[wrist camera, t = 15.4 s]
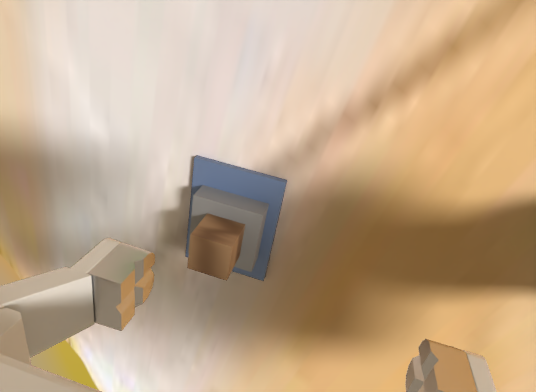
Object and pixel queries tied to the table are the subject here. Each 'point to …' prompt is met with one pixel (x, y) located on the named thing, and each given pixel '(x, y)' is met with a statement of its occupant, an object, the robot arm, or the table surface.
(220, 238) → the walnut cube
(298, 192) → the table surface
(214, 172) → the base
